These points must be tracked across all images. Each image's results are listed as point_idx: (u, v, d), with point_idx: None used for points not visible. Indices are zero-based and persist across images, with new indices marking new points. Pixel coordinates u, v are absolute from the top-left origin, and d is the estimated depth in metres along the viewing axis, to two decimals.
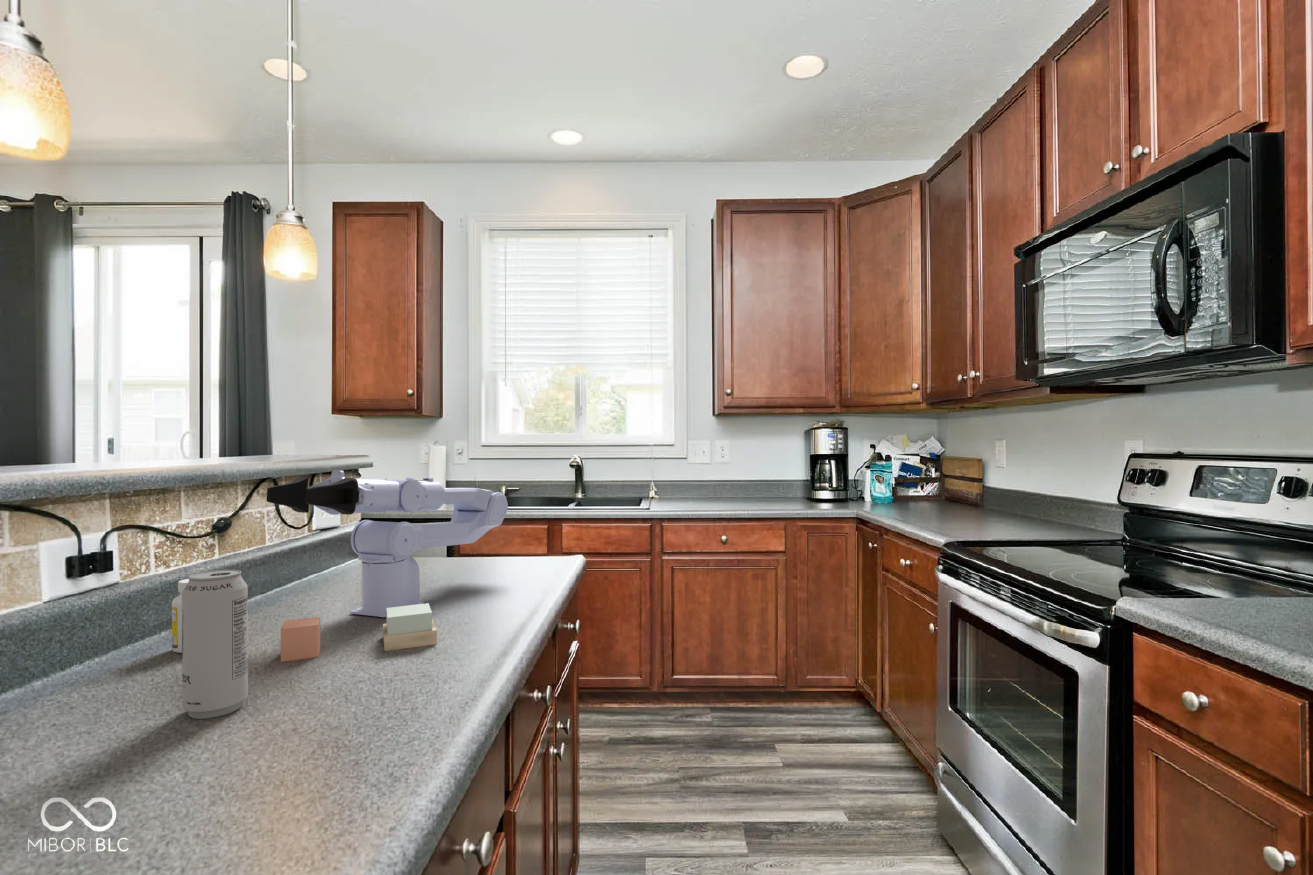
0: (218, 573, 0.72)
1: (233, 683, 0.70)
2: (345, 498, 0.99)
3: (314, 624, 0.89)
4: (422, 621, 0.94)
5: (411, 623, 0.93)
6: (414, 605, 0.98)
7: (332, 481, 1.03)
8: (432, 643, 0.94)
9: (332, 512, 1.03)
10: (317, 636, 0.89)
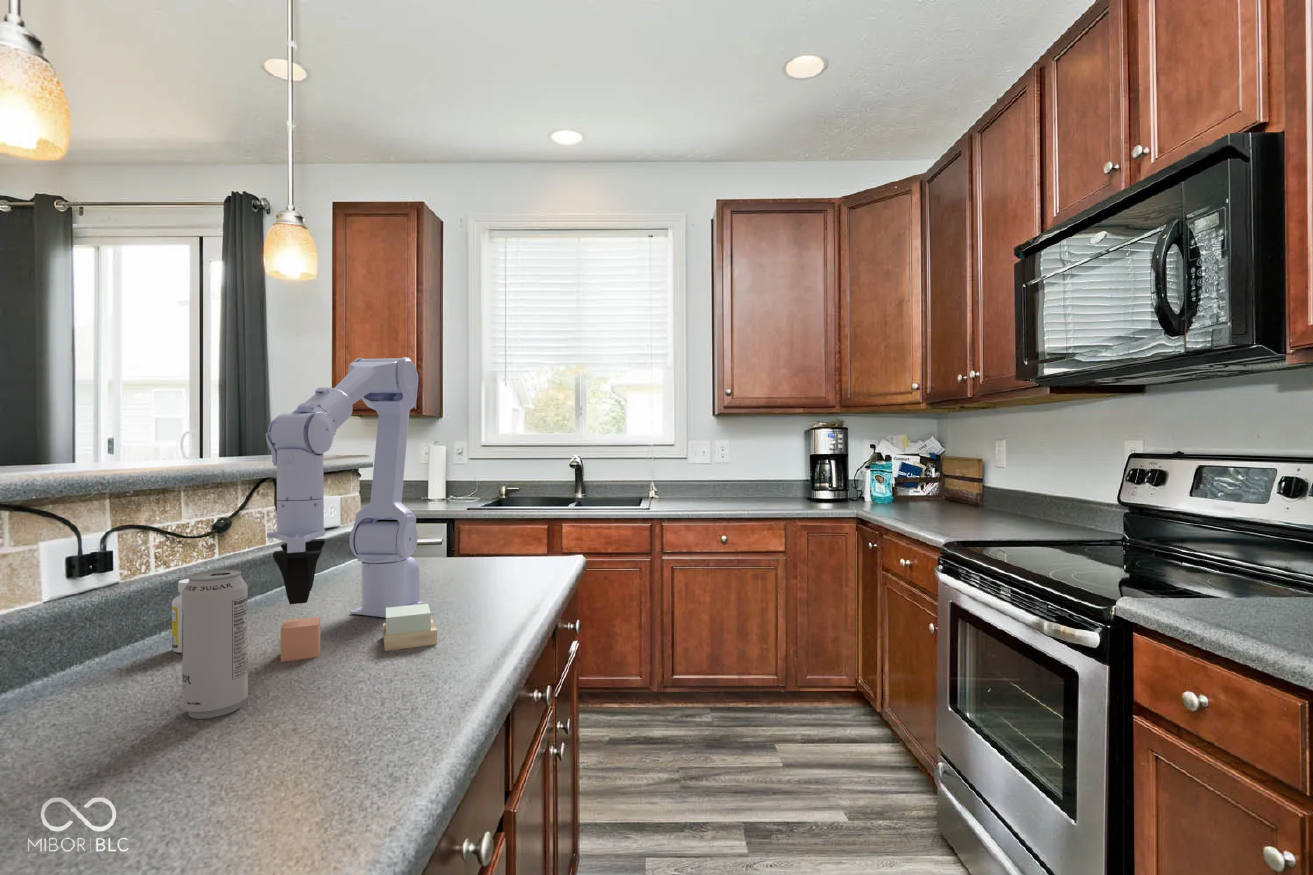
0: (218, 573, 0.72)
1: (233, 683, 0.70)
2: None
3: (313, 624, 0.89)
4: (420, 622, 0.93)
5: (410, 623, 0.93)
6: (413, 605, 0.98)
7: None
8: (432, 643, 0.94)
9: None
10: (317, 636, 0.89)
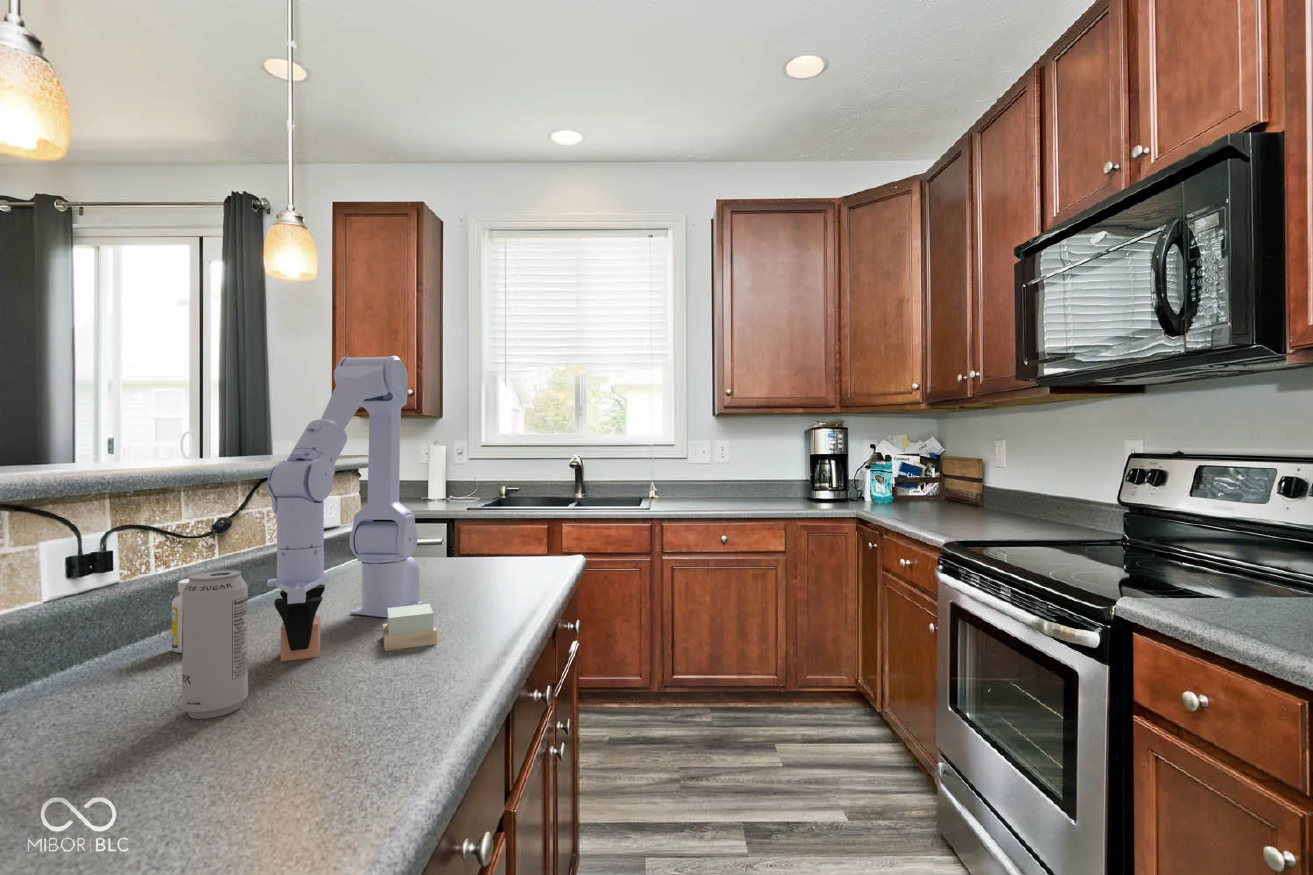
0: (218, 573, 0.72)
1: (233, 683, 0.70)
2: None
3: (313, 623, 0.89)
4: (423, 622, 0.94)
5: (412, 623, 0.93)
6: (415, 605, 0.99)
7: None
8: (432, 643, 0.94)
9: None
10: (317, 635, 0.89)
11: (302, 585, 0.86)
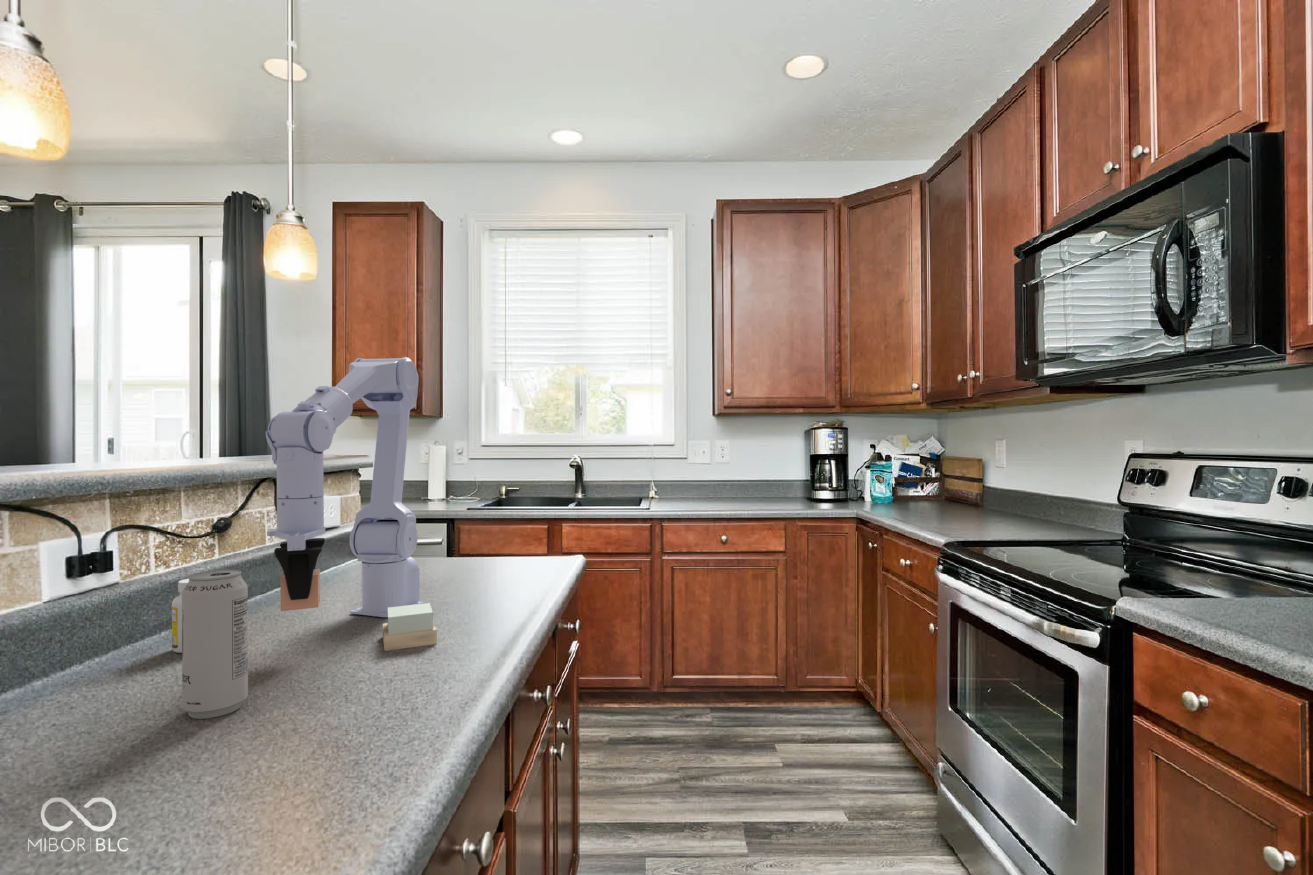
0: (218, 573, 0.72)
1: (233, 683, 0.70)
2: None
3: (313, 574, 0.89)
4: (422, 621, 0.94)
5: (412, 623, 0.93)
6: (415, 605, 0.98)
7: None
8: (432, 643, 0.94)
9: None
10: (317, 586, 0.89)
11: (302, 534, 0.86)
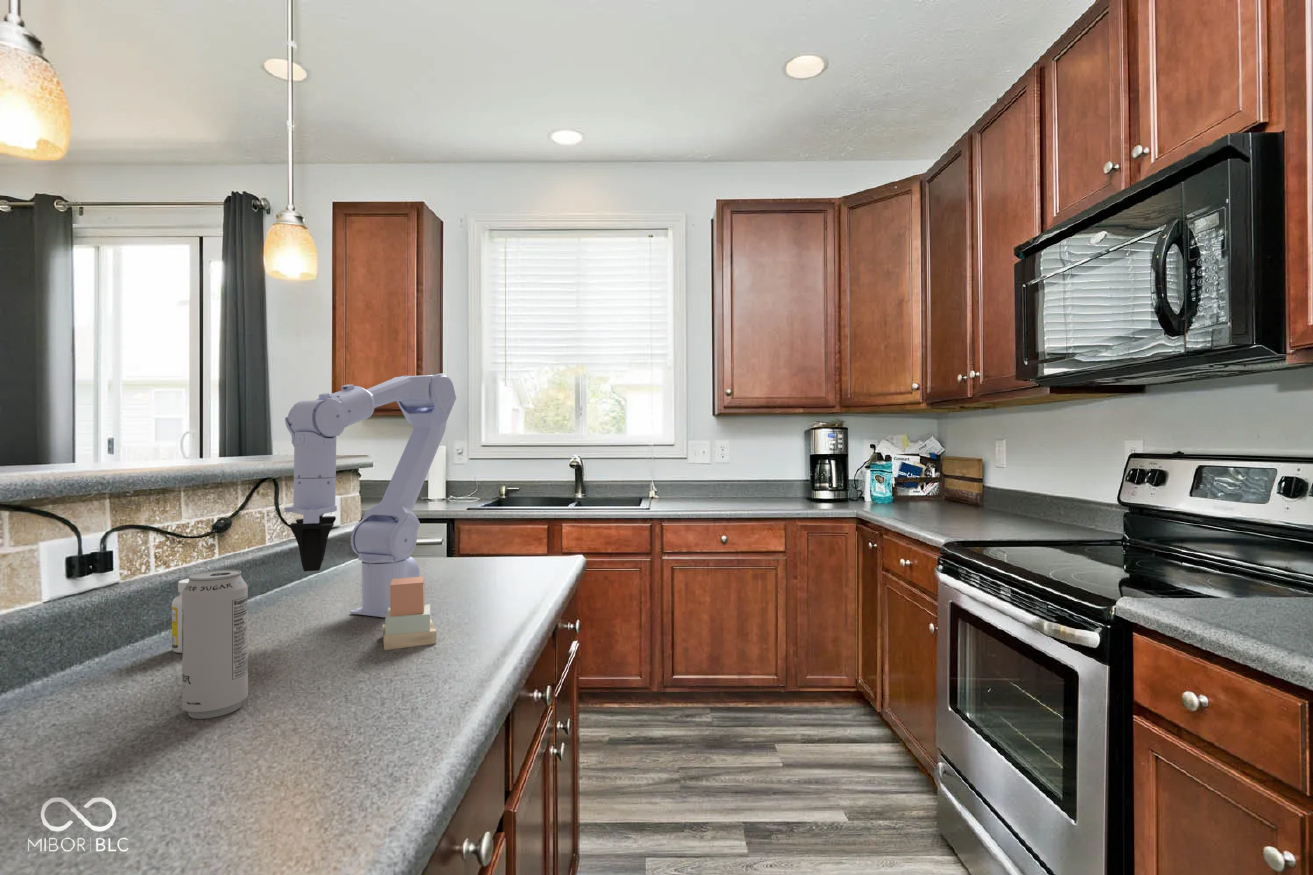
0: (218, 573, 0.72)
1: (233, 683, 0.70)
2: None
3: (419, 582, 0.95)
4: (419, 622, 0.94)
5: (409, 624, 0.93)
6: None
7: None
8: (432, 643, 0.94)
9: None
10: (422, 593, 0.95)
11: (316, 509, 0.95)
